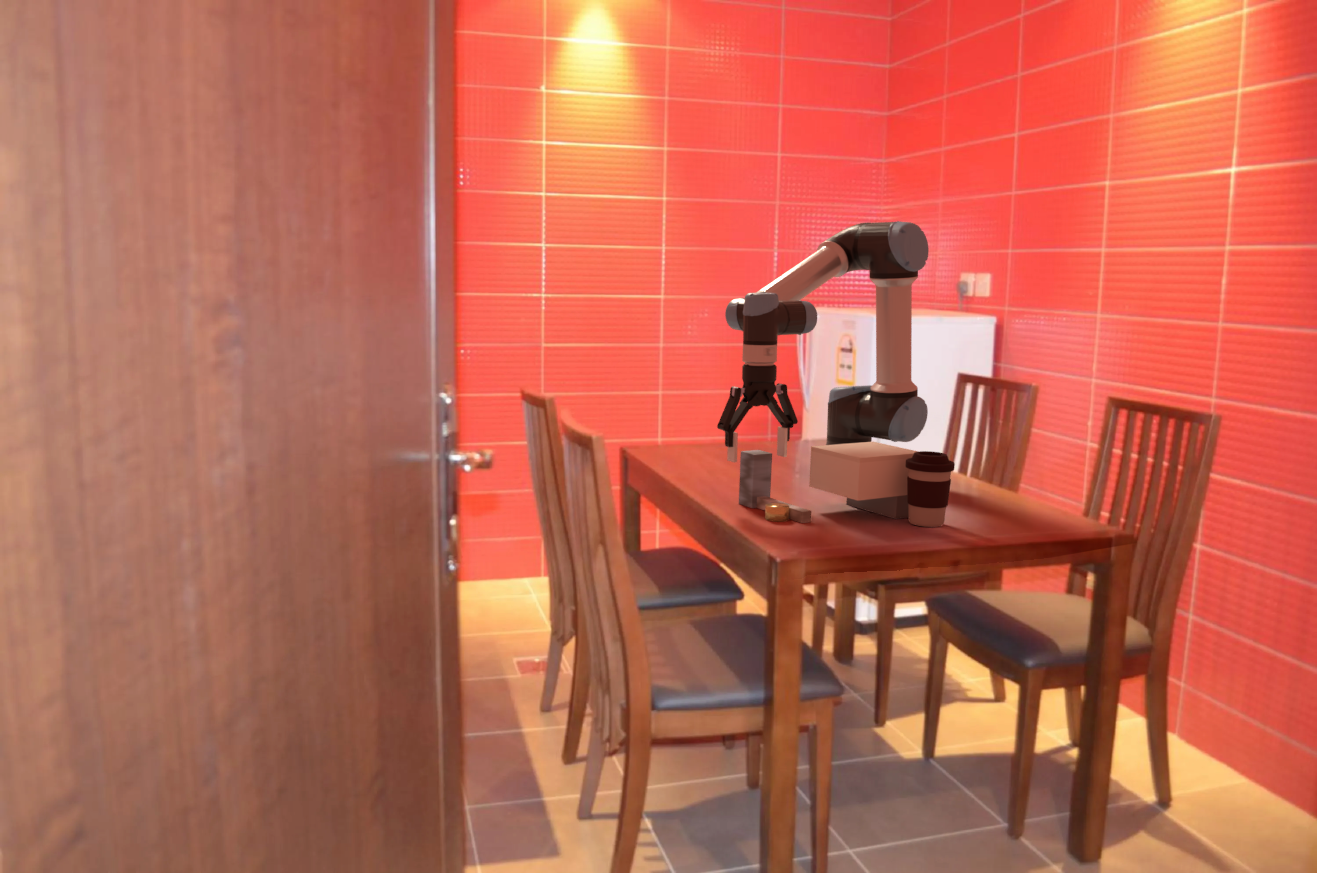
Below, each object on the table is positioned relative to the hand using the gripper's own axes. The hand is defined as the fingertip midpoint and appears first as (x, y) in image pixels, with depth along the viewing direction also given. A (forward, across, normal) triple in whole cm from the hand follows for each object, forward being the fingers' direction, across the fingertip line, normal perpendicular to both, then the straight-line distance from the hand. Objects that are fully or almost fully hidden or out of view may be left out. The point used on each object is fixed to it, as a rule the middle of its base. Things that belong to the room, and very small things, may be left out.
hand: (757, 458), depth 235 cm
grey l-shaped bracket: (+10, -1, -8) cm, 13 cm away
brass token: (+10, -4, -13) cm, 17 cm away
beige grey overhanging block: (+11, +17, -16) cm, 26 cm away
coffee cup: (+11, +22, -30) cm, 39 cm away
